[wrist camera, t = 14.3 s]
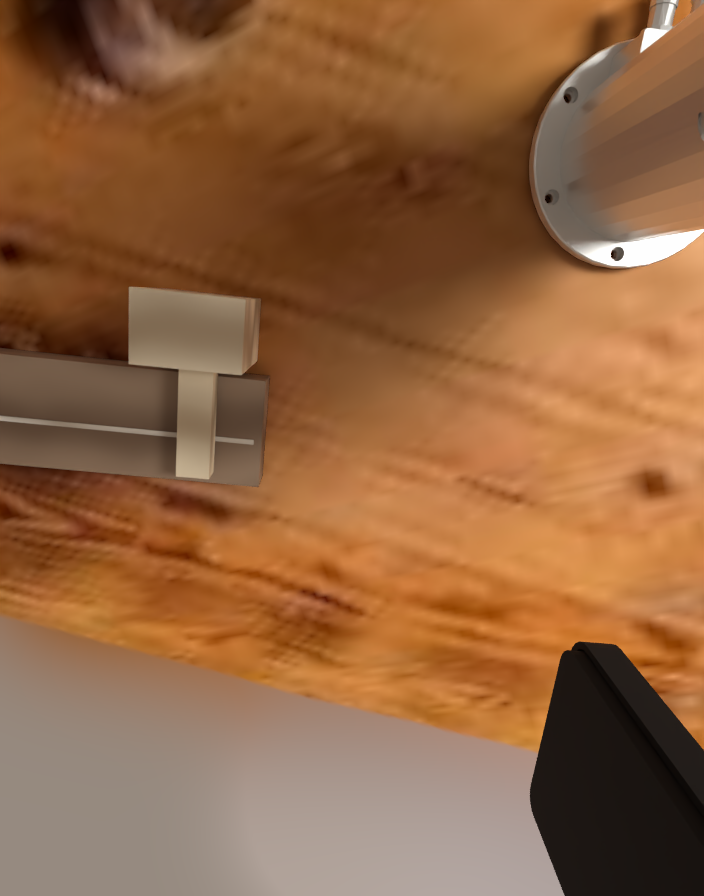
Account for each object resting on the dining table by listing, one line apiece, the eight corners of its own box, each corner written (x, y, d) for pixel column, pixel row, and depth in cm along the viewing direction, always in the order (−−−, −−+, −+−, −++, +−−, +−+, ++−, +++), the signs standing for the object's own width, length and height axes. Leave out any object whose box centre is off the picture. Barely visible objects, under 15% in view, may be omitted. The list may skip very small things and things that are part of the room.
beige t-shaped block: (166, 288, 36) (128, 286, 29) (261, 298, 36) (245, 299, 30) (163, 454, 39) (128, 487, 32) (251, 462, 39) (234, 496, 32)
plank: (-108, 336, 36) (-140, 339, 34) (269, 375, 38) (265, 381, 35) (-98, 442, 38) (-127, 452, 35) (262, 475, 39) (258, 487, 37)
